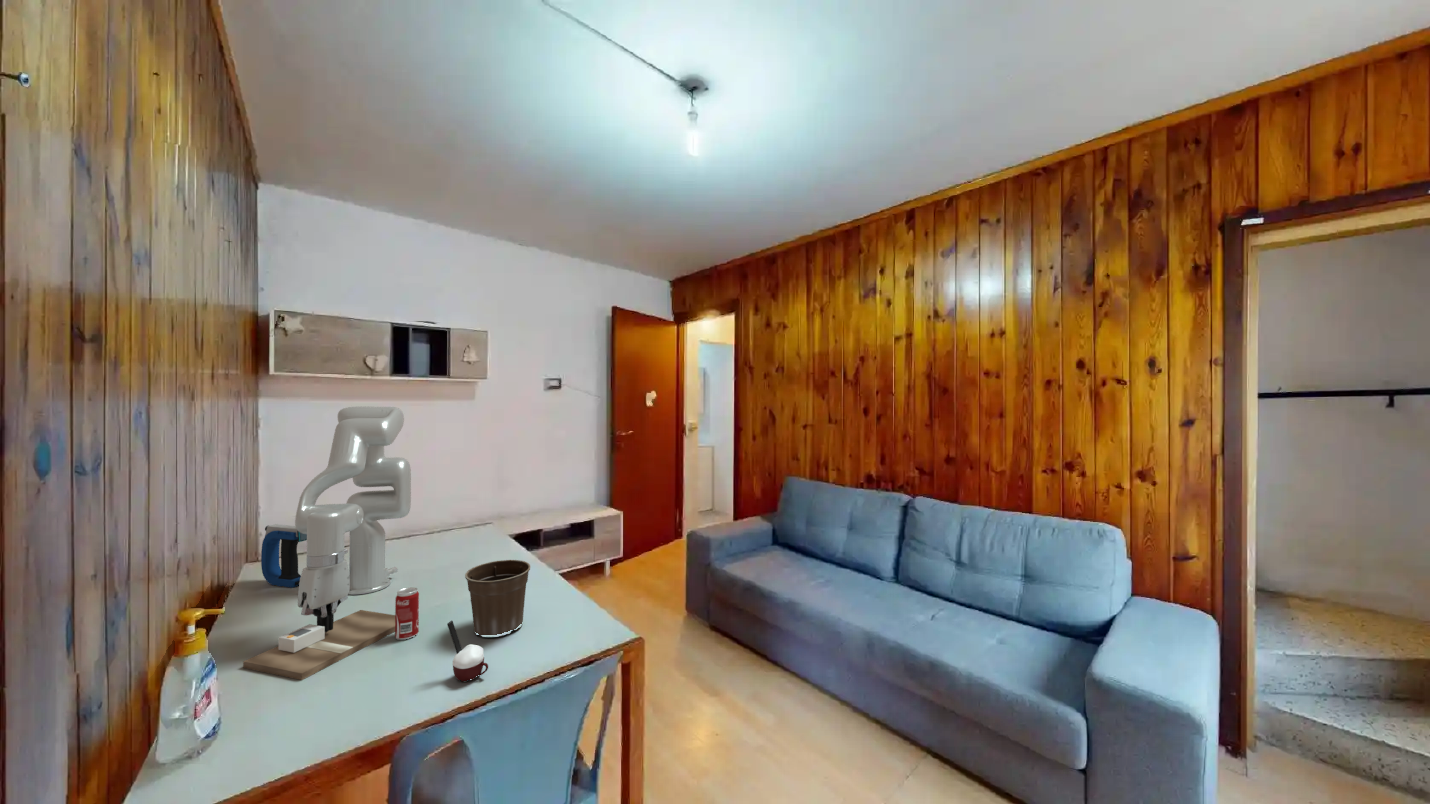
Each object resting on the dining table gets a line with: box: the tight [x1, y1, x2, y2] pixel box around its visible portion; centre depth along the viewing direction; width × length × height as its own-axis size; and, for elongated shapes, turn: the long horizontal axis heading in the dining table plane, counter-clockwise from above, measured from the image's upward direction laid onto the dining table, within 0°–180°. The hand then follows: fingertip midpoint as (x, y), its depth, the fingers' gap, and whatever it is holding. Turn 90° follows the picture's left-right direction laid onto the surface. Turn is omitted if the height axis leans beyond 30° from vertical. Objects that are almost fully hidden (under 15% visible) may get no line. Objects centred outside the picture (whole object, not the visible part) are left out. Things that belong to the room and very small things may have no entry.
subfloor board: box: [242, 609, 395, 681], centre depth 121 cm, size 28×18×2 cm, turn 166°
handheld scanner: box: [260, 523, 307, 589], centre depth 159 cm, size 5×16×20 cm, turn 79°
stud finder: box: [277, 623, 325, 653], centre depth 118 cm, size 7×5×3 cm
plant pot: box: [464, 559, 531, 635], centre depth 130 cm, size 16×16×16 cm
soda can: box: [394, 587, 420, 641], centre depth 126 cm, size 5×5×12 cm
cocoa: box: [447, 620, 489, 682], centre depth 108 cm, size 10×6×12 cm, turn 60°
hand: (325, 630), depth 123 cm, fingers closed
